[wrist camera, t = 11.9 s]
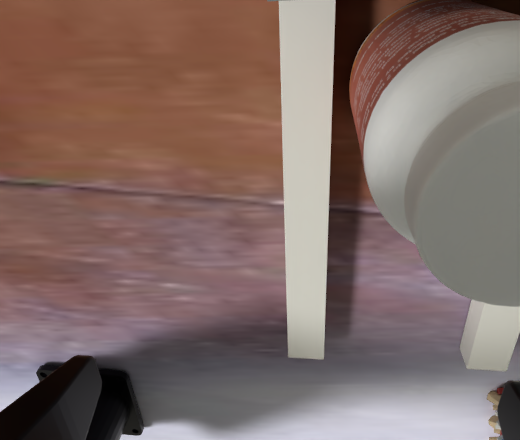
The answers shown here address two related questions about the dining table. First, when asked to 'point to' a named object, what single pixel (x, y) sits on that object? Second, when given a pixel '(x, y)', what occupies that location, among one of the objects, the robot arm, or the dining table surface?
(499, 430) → the woven mat
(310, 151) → the guide track
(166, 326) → the dining table surface
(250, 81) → the dining table surface
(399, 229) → the pill bottle
